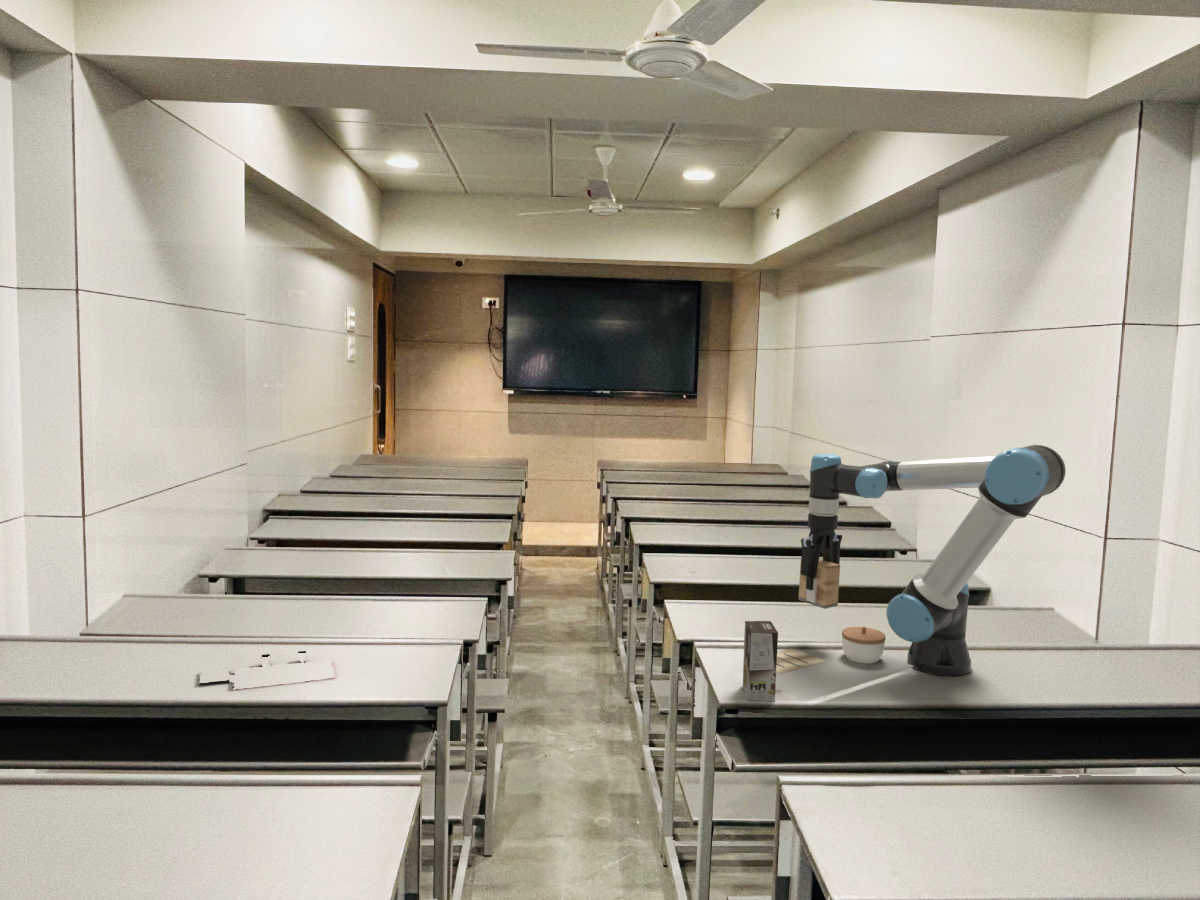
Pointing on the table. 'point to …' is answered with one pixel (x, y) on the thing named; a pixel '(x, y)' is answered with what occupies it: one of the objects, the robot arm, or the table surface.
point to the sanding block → (823, 585)
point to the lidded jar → (863, 644)
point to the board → (794, 660)
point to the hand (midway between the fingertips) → (818, 599)
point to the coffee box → (760, 660)
